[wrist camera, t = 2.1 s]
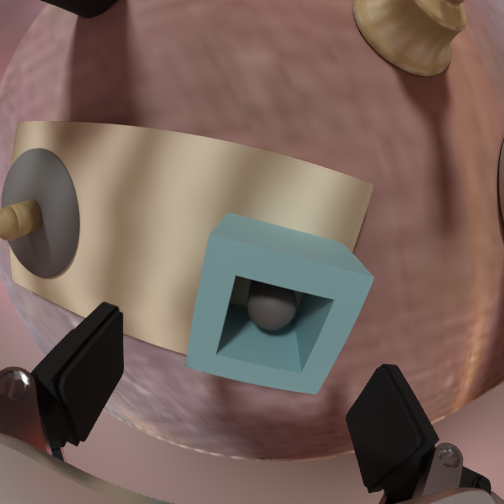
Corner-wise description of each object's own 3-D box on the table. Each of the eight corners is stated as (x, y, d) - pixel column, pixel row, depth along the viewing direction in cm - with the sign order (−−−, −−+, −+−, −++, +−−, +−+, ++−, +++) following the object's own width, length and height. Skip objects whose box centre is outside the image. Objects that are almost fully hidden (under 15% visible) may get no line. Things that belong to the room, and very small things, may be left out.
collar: (343, 243, 15) (374, 277, 10) (306, 339, 17) (316, 394, 12) (228, 212, 15) (209, 234, 10) (205, 315, 17) (184, 366, 12)
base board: (362, 182, 16) (407, 191, 10) (295, 363, 20) (301, 422, 14) (27, 122, 15) (-23, 121, 9) (20, 270, 19) (-21, 294, 14)
